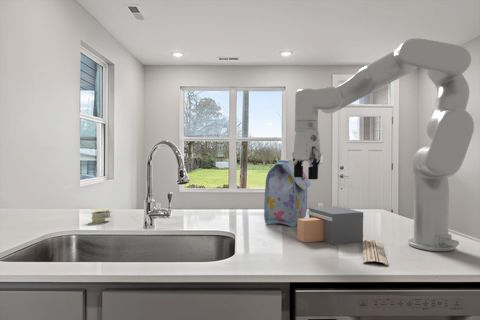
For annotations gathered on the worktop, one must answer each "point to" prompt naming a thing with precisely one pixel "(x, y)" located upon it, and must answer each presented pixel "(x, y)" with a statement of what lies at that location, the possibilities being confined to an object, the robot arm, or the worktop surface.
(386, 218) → the worktop surface
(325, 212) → the grey box
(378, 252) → the newspaper
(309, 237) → the orange rectangular block
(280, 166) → the lunch bag
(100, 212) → the pale yellow grooved block
